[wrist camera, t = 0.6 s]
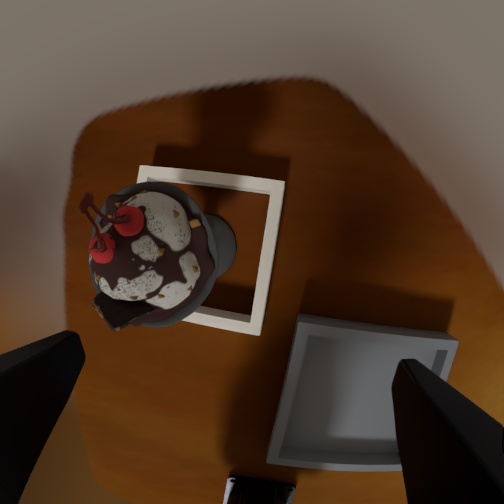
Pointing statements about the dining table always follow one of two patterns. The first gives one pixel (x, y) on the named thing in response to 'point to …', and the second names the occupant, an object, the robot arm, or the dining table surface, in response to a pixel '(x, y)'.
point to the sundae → (154, 255)
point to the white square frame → (276, 192)
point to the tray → (347, 392)
